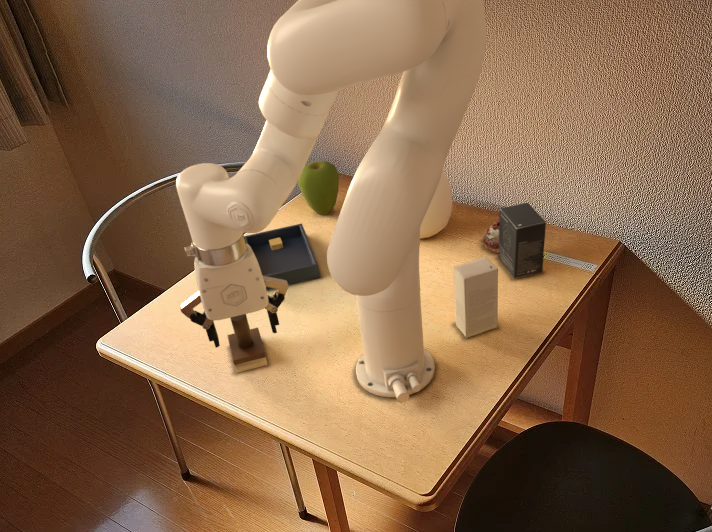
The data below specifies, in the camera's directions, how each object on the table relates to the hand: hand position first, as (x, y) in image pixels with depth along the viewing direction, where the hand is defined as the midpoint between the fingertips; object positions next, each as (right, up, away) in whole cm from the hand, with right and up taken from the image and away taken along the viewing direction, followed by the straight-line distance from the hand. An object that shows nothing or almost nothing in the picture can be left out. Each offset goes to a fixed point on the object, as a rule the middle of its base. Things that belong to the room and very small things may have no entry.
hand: (245, 335), depth 122 cm
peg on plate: (0, -3, +3) cm, 4 cm away
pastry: (+47, +19, +20) cm, 54 cm away
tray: (+3, +16, +23) cm, 28 cm away
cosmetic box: (+39, +2, +3) cm, 39 cm away
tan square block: (+2, +20, +27) cm, 33 cm away
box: (+49, +14, +15) cm, 53 cm away
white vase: (+31, +23, +27) cm, 48 cm away
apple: (+11, +29, +36) cm, 48 cm away
